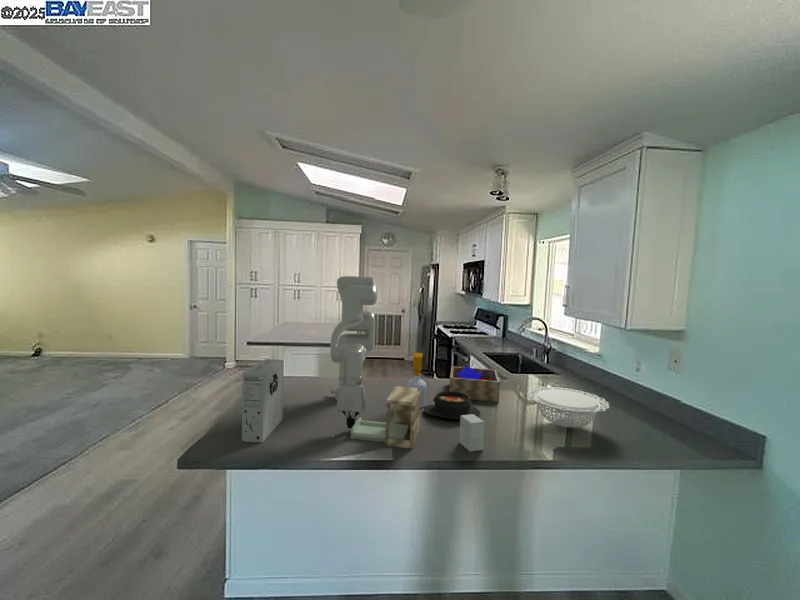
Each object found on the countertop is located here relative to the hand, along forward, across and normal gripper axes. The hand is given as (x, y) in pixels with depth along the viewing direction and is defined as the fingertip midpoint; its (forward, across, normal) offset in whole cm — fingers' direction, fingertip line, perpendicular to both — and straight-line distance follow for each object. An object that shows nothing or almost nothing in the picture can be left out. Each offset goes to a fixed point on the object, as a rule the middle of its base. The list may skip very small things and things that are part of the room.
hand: (350, 427), depth 151 cm
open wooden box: (+2, +48, +65) cm, 80 cm away
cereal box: (+2, -32, -7) cm, 33 cm away
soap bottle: (+2, +21, +37) cm, 42 cm away
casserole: (+2, +38, +29) cm, 48 cm away
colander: (+2, +85, +27) cm, 89 cm away
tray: (+2, +12, 0) cm, 12 cm away
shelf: (+2, +20, 0) cm, 20 cm away
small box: (+2, +46, -1) cm, 46 cm away
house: (+2, +48, +65) cm, 80 cm away
